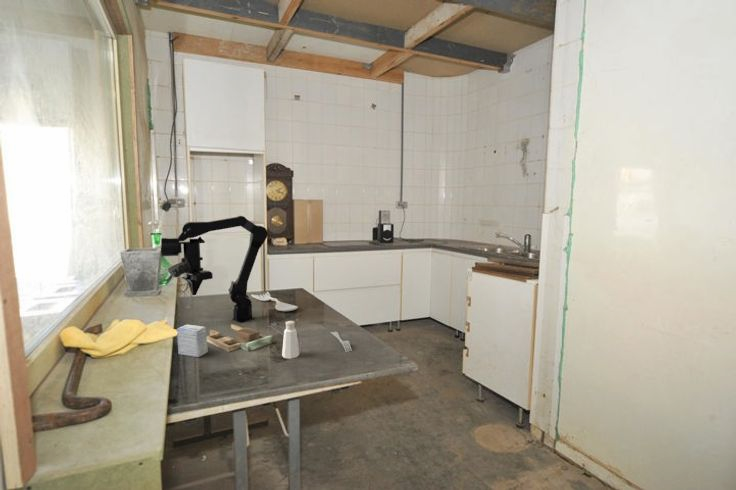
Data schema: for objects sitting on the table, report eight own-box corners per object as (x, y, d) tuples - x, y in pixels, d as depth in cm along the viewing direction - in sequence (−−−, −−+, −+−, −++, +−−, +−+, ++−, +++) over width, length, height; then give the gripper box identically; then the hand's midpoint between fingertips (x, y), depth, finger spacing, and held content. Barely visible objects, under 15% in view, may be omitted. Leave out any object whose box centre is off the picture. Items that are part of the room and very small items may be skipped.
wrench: (275, 323, 153) (275, 321, 153) (298, 338, 138) (298, 335, 138) (263, 326, 151) (263, 323, 150) (286, 341, 135) (286, 338, 135)
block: (247, 338, 137) (246, 327, 137) (259, 343, 133) (259, 331, 132) (236, 342, 134) (235, 331, 133) (248, 346, 129) (248, 335, 129)
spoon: (268, 297, 193) (267, 290, 193) (302, 312, 169) (301, 304, 169) (250, 300, 187) (250, 293, 187) (283, 316, 163) (283, 308, 163)
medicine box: (208, 352, 124) (206, 326, 123) (197, 358, 120) (196, 331, 119) (188, 349, 127) (187, 323, 126) (177, 354, 122) (176, 328, 121)
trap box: (233, 327, 148) (233, 321, 147) (272, 342, 132) (272, 335, 132) (198, 337, 137) (198, 330, 137) (236, 355, 122) (236, 347, 122)
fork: (337, 338, 145) (336, 330, 145) (353, 353, 125) (353, 344, 125) (329, 339, 144) (329, 331, 144) (345, 354, 124) (345, 345, 124)
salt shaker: (291, 360, 119) (290, 325, 117) (278, 356, 121) (277, 322, 120) (302, 354, 123) (302, 321, 122) (290, 350, 126) (289, 318, 125)
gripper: (159, 255, 147) (161, 295, 148) (182, 260, 135) (184, 303, 137) (188, 251, 155) (190, 289, 157) (212, 256, 143) (214, 297, 145)
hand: (194, 295), depth 149 cm, fingers closed
